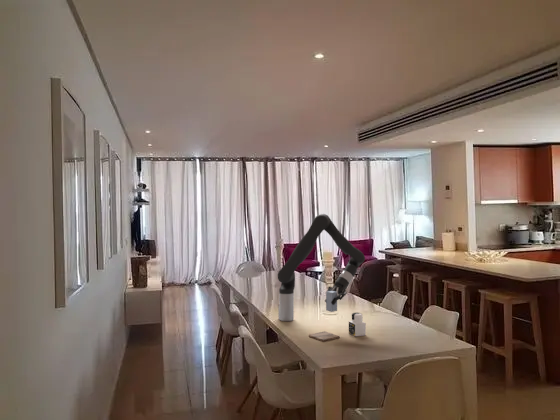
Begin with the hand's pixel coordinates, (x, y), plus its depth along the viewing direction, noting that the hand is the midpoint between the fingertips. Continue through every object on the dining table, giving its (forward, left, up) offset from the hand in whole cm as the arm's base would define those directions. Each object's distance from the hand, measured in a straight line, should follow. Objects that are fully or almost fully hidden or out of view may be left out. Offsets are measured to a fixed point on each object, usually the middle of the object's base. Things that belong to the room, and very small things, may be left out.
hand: (329, 303), depth 261 cm
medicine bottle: (+12, +10, -17) cm, 23 cm away
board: (+5, -9, -17) cm, 20 cm away
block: (0, +2, -5) cm, 5 cm away
